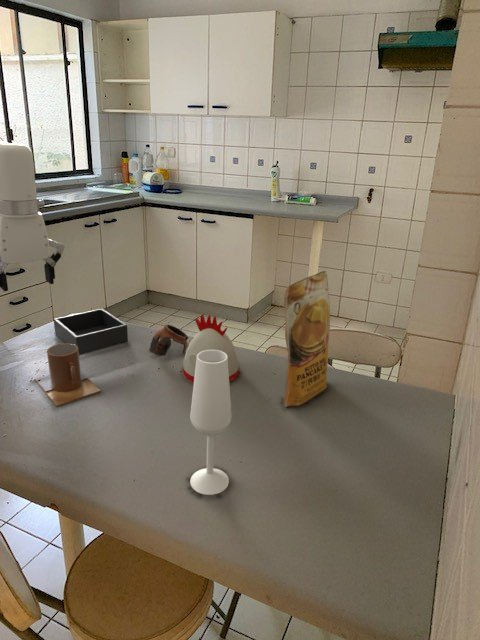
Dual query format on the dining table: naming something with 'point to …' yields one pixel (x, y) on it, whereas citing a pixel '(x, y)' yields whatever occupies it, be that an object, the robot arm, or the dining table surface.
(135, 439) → the dining table surface
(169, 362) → the dining table surface
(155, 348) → the pottery mug
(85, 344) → the dark grey open box
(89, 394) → the wooden flat board
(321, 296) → the pancake mix bag
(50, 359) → the brown mug
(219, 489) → the champagne flute
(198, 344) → the kitchen timer
